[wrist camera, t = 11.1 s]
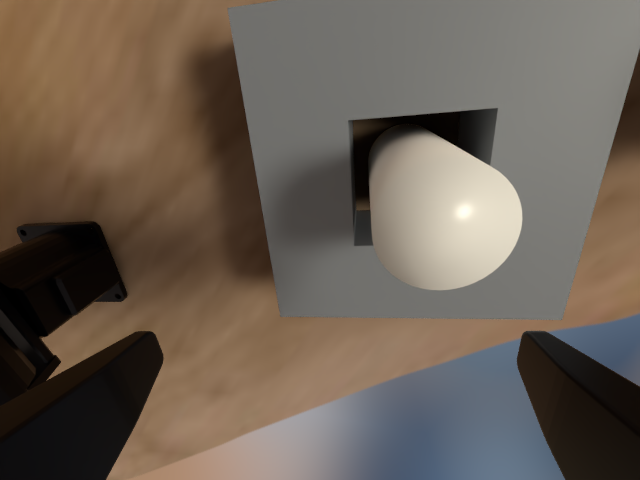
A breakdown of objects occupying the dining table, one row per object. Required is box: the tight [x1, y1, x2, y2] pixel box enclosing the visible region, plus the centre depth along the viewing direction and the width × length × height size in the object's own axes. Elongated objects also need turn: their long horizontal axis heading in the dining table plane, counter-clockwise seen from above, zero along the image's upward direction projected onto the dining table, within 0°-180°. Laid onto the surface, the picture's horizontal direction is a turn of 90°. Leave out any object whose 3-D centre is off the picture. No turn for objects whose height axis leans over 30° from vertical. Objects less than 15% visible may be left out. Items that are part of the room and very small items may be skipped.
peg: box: [368, 124, 522, 290], centre depth 13 cm, size 4×4×10 cm
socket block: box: [228, 0, 640, 320], centre depth 16 cm, size 14×14×5 cm
